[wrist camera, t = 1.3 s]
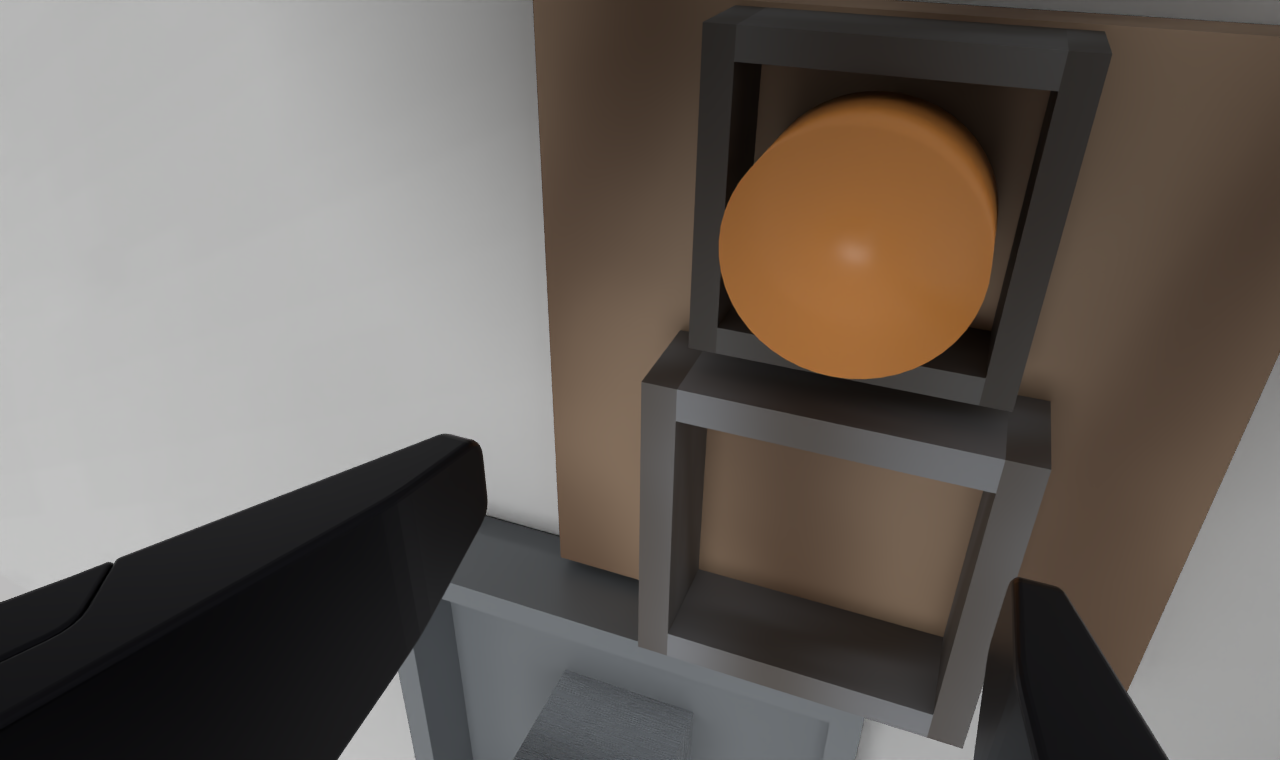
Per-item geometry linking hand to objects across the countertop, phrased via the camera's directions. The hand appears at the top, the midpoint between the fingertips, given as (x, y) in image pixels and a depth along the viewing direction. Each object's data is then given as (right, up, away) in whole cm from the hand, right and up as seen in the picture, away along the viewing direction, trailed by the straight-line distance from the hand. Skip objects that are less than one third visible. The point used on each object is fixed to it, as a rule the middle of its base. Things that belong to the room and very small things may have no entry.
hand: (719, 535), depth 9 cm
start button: (+3, +5, +8) cm, 10 cm away
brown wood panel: (+4, +2, +12) cm, 13 cm away
